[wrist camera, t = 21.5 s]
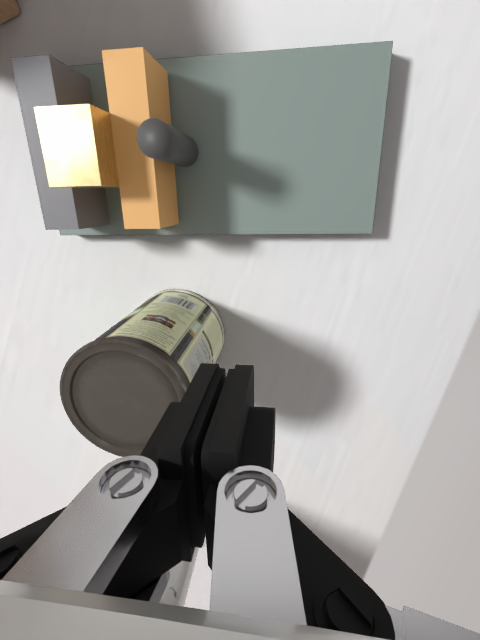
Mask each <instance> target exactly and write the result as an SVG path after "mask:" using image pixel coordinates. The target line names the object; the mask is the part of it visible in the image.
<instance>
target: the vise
mask: <svg viewBox="0 0 480 640" xmlns="http://www.w3.org/2000/svg"><path fill="white" fill-rule="evenodd" d="M392 47H393V41H385V42H372V43H359V44H346V45H333V46H320V47H307V48H295V49H282V50H269V51H256V52H243V53H230V54H217V55H204V56H191V57H178V58H166V59H155V60H156V61H157V62H158V63H159V64H160V65H161V66H162V67H163V68H164V69H165V70H166V71H167V73H168V86H169V99H170V112H171V125H172V127H174V128H175V129H177V130H179V131H180V132H182V133H184V134H185V135H187V136H189V137H191V138H192V139H193V140H194V141H195V142H196V144H197V147H198V157H197V160H196V161H195V163H194V164H192V165H191V166H188V167H182V166H179V165H175V177H176V190H177V203H178V216H179V224H177V225H173V226H169V227H165V228H161V229H125V228H124V220H123V212H122V204H121V197H120V189H92V188H64V187H49V182H48V177H47V172H46V167H45V161H44V156H43V151H42V146H41V141H40V136H39V130H38V125H37V120H36V115H35V110H34V107H45V106H61V105H78V104H91V105H93V106H95V107H97V108H100V109H102V110H104V111H106V112H108V113H110V112H109V104H108V96H107V88H106V81H105V73H104V65H103V63H101V64H88V65H75V66H67V65H65V64H64V63H62V62H60V61H59V60H57V59H55V58H53V57H52V56H50V55H38V56H26V57H14V58H11V63H12V68H13V73H14V78H15V82H16V87H17V92H18V97H19V102H20V107H21V112H22V117H23V121H24V126H25V131H26V136H27V141H28V146H29V151H30V155H31V160H32V165H33V170H34V175H35V180H36V185H37V190H38V194H39V199H40V204H41V209H42V214H43V219H44V224H45V228H46V230H57V229H59V231H60V235H189V234H372V230H373V221H374V211H375V202H376V193H377V184H378V175H379V166H380V156H381V147H382V138H383V129H384V120H385V111H386V102H387V92H388V83H389V74H390V65H391V56H392Z"/></svg>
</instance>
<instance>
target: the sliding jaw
mask: <svg viewBox="0 0 480 640" xmlns="http://www.w3.org/2000/svg"><path fill="white" fill-rule="evenodd" d="M102 58H103V65H104V73H105V81H106V88H107V96H108V104H109V112H110V119H111V127H112V135H113V143H114V150H115V158H116V166H117V174H118V181H119V189H120V197H121V204H122V212H123V220H124V228H125V229H161V228H165V227H169V226H173V225H177V224H179V216H178V203H177V190H176V177H175V165H179V166H182V167H188V166H191V165H192V164H194V163H195V161H196V160H197V157H198V147H197V144H196V142H195V141H194V140H193V139H192V138H191V137H189V136H187V135H185V134H184V133H182V132H180V131H179V130H177V129H175V128H174V127H172V125H171V112H170V99H169V86H168V73H167V71H166V70H165V69H164V68H163V67H162V66H161V65H160V64H159V63H158V62H157V61H156V60H155V59H154V58H153V57H152V56H151V55H150V54H149V53H148V52H147V51H146V50H145V49H144V48H143V47H135V48H123V49H111V50H102Z"/></svg>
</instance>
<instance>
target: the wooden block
mask: <svg viewBox="0 0 480 640" xmlns="http://www.w3.org/2000/svg"><path fill="white" fill-rule="evenodd" d="M19 13H20V10H19V7H18V4H17V2H16V0H0V25H1V24H2V23H4V22H6V21H8V20H10V19H11V18H13V17H15V16H17V15H18V14H19Z"/></svg>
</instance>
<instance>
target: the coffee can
mask: <svg viewBox="0 0 480 640" xmlns="http://www.w3.org/2000/svg"><path fill="white" fill-rule="evenodd" d="M223 345H224V327H223V323H222V321H221V318H220V316H219V314H218V313H217V311H216V310H215V308H214V307H213V306H212V305H211V304H210V303H209V302H208V301H207V300H205V299H204V298H203V297H202V296H199V295H197V294H195V293H193V292H190V291H186V290H181V289H170V290H164V291H161V292H159V293H156V294H155V295H153V296H152V297H150V298H149V299H148V300H147V301H146V302H145V303H143V304H142V305H141V306H140V307H138V308H137V309H136V310H134V311H133V312H132V313H130V314H129V315H128V316H126V317H125V318H124V319H122V320H121V321H120V322H118V323H117V324H116V325H114V326H113V327H111V328H110V329H109V330H108V331H106V332H105V333H104V334H102V335H101V336H100V337H98V338H97V339H96V340H94V341H93V342H90V343H88V344H87V345H85V346H83V347H82V348H80V349H79V350H77V351H76V352H75V353H74V354H73V355H72V356H71V357H70V358H69V360H68V361H67V363H66V365H65V367H64V369H63V372H62V375H61V380H60V395H61V400H62V403H63V406H64V409H65V411H66V414H67V415H68V417H69V419H70V421H71V422H72V424H73V425H74V426H75V427H76V429H77V430H78V431H79V432H80V433H81V434H82V435H83V436H84V437H85V438H86V439H88V440H89V441H90V442H92V443H93V444H95V445H96V446H97V447H99V448H101V449H103V450H105V451H107V452H110V453H112V454H115V455H118V456H121V457H126V456H133V455H136V456H140V454H141V452H142V451H143V449H144V447H145V446H146V444H147V442H148V440H149V439H150V437H151V435H152V433H153V432H154V430H155V428H156V427H157V425H158V423H159V421H160V420H161V418H162V416H163V415H164V413H165V411H166V409H167V408H168V406H169V404H170V403H171V402H180V401H181V400H182V398H183V396H184V394H185V392H186V390H187V388H188V386H189V385H190V383H191V381H192V379H193V377H194V375H195V373H196V371H197V370H198V368H199V366H200V364H201V363H211V364H215V363H216V361H217V358H218V357H219V355H220V353H221V351H222V348H223Z"/></svg>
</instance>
